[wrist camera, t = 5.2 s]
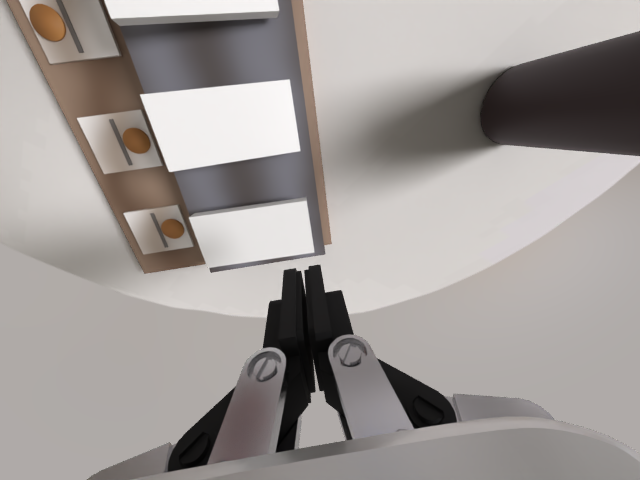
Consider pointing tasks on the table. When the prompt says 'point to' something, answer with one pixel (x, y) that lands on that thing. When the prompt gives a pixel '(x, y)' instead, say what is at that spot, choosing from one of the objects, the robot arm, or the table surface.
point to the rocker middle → (223, 123)
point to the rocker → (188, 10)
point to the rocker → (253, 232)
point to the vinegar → (570, 100)
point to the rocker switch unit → (164, 76)
